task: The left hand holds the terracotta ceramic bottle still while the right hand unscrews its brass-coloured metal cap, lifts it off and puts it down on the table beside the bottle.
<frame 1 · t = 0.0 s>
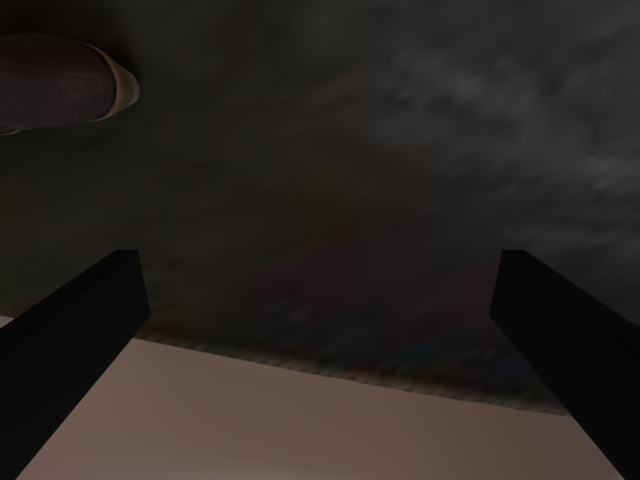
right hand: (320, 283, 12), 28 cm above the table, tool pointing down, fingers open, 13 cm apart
boot: (41, 88, 36), on the table
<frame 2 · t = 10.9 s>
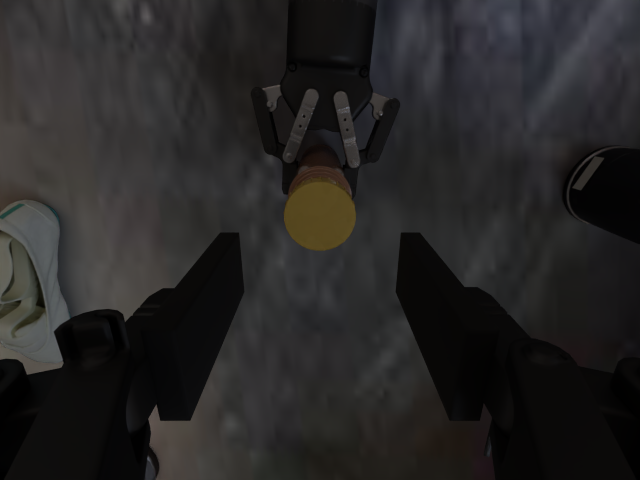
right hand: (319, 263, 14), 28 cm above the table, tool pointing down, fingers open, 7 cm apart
left hand: (318, 200, 35), fingers closed on bottle, 4 cm apart
ballet flat: (46, 282, 46), on the table
cap: (319, 216, 20), point 21 cm above the table, screwed on, not yet turned
bottle: (320, 164, 40), on the table, touching left hand
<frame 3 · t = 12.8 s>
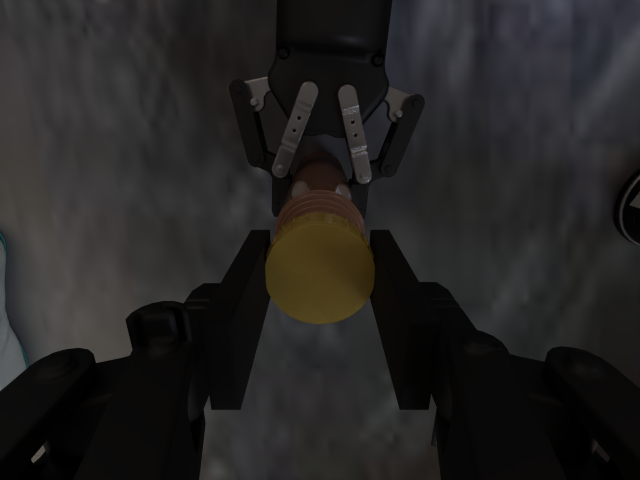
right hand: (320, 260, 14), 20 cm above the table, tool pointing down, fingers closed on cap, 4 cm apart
left hand: (318, 223, 28), fingers closed on bottle, 4 cm apart
cap: (320, 273, 13), point 21 cm above the table, screwed on, not yet turned, touching right hand
bottle: (320, 175, 33), on the table, touching left hand
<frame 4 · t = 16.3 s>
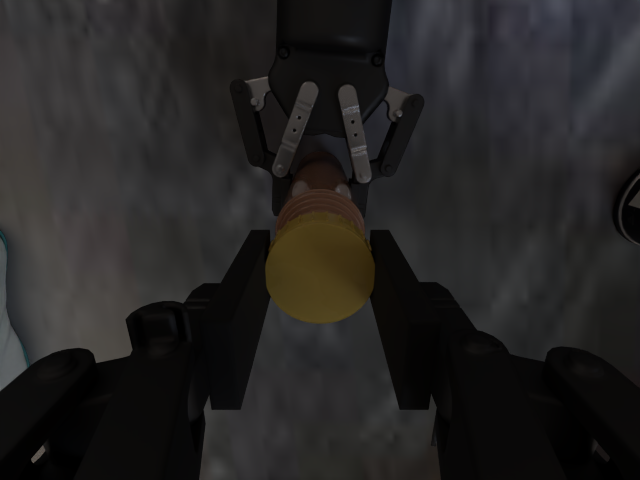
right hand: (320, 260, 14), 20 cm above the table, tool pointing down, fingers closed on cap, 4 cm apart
left hand: (318, 222, 28), fingers closed on bottle, 4 cm apart
cap: (320, 273, 13), point 21 cm above the table, turned 109° so far, risen 0.1 cm, still on its thread, touching right hand
bottle: (320, 175, 33), on the table, touching left hand
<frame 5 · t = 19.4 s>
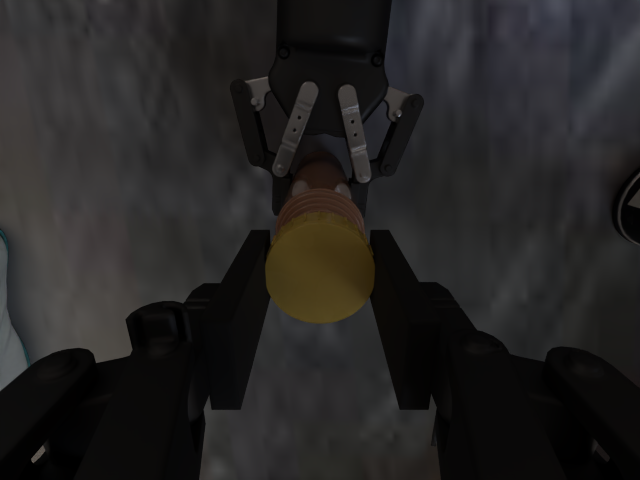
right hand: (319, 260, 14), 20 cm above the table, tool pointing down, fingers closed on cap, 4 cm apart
left hand: (318, 222, 28), fingers closed on bottle, 4 cm apart
cap: (320, 273, 13), point 22 cm above the table, turned 218° so far, risen 0.2 cm, still on its thread, touching right hand
bottle: (320, 175, 33), on the table, touching left hand
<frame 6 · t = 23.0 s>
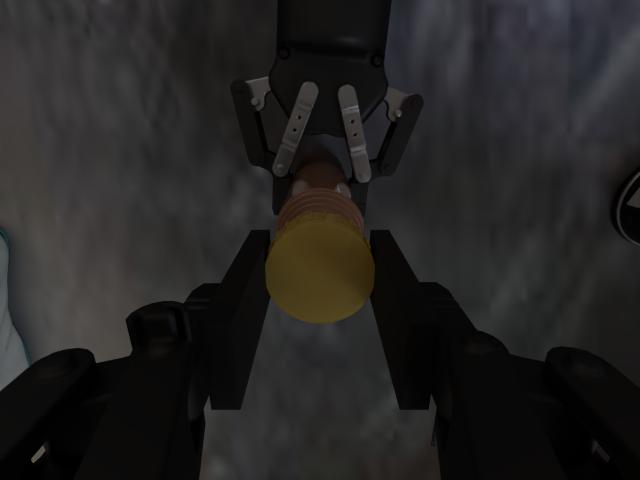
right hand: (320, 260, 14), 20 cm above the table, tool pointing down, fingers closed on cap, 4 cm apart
left hand: (318, 221, 28), fingers closed on bottle, 4 cm apart
cap: (320, 273, 13), point 22 cm above the table, turned 327° so far, risen 0.3 cm, still on its thread, touching right hand
bottle: (320, 175, 33), on the table, touching left hand
when the right hand's fingers open (1 cm above the table, at t = 30.7 s): cap drops 1 cm, point 1 cm above the table.
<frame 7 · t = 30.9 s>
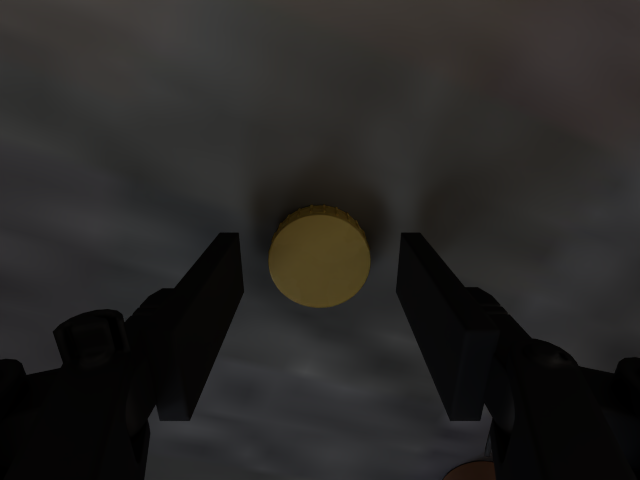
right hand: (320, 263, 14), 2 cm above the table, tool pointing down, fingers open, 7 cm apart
cap: (319, 260, 14), point 1 cm above the table, off its thread
when the left hand's fingers open (7 cm above the table, at t = 32.0 s): bottle stays where it is, on the table.
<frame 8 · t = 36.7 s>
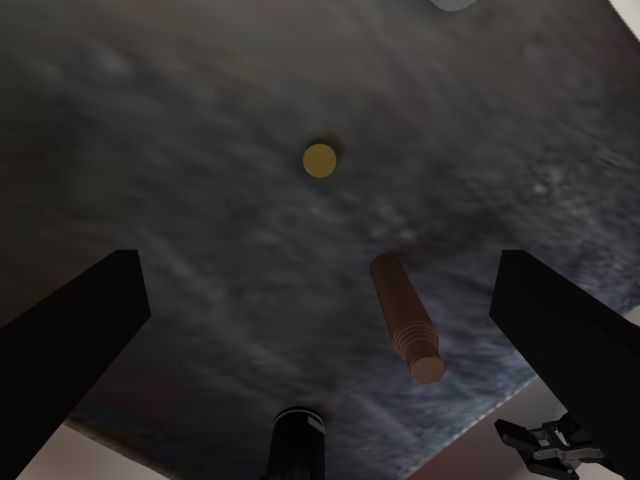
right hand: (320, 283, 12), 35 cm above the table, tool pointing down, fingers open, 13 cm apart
cap: (319, 160, 44), point 1 cm above the table, off its thread
bottle: (385, 268, 51), on the table
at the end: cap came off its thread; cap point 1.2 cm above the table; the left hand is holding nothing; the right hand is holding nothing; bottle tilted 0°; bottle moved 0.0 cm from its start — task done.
